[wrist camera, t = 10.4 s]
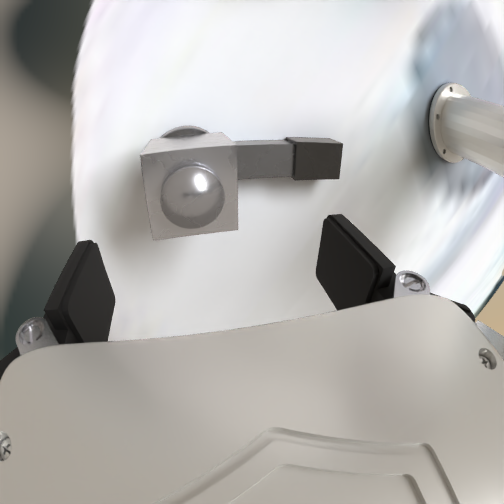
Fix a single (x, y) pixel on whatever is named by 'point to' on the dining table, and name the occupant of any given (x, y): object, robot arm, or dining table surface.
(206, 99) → the dining table surface
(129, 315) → the dining table surface
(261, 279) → the dining table surface
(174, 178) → the cube with metal dome
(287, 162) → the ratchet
